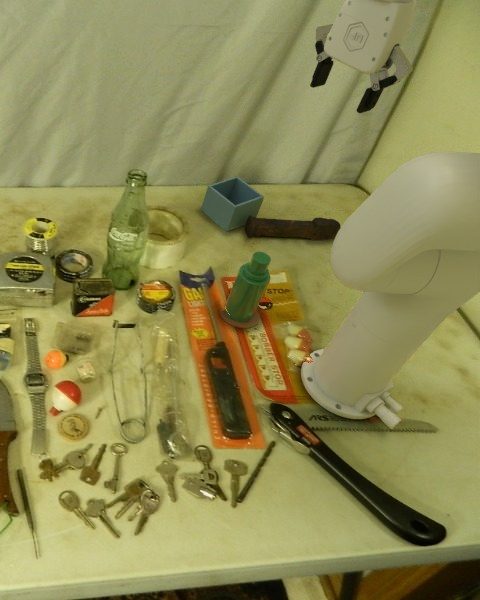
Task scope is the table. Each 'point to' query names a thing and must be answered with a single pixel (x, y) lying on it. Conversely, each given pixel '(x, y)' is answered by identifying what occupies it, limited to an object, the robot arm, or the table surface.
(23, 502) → the table surface
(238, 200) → the blue open box
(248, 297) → the bottle
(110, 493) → the table surface
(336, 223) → the hand tool
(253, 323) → the coaster
